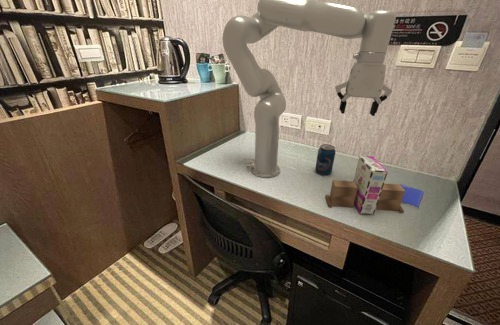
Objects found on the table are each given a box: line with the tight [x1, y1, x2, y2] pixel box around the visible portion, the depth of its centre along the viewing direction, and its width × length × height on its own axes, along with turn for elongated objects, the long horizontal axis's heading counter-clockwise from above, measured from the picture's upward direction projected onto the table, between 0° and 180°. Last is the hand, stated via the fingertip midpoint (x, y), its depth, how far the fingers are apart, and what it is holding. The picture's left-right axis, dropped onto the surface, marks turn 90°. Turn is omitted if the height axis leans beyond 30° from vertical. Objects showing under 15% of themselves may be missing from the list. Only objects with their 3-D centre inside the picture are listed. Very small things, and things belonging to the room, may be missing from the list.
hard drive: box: [399, 183, 425, 210], centre depth 88 cm, size 2×8×12 cm
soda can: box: [315, 143, 336, 176], centre depth 101 cm, size 7×7×12 cm
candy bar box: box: [353, 155, 389, 216], centre depth 80 cm, size 11×5×16 cm, turn 177°
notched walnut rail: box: [325, 179, 405, 214], centre depth 81 cm, size 24×6×8 cm, turn 84°
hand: (356, 113), depth 80 cm, fingers open, 9 cm apart
